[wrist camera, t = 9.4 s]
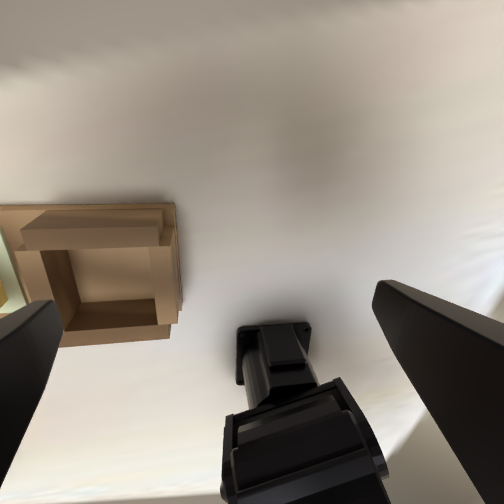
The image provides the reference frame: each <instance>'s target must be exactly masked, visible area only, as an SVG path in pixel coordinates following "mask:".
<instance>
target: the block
mask: <svg viewBox="0 0 504 504" xmlns="http://www.w3.org/2000/svg"><path fill="white" fill-rule="evenodd" d="M7 301H8V297H7V295H6V292H5V290H4V287H3V285H2V282H1V280H0V308H1V307H2V306H3V305H4V304H5V303H6V302H7Z"/></svg>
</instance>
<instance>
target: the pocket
mask: <svg viewBox="0 0 504 504" xmlns="http://www.w3.org/2000/svg"><path fill="white" fill-rule="evenodd" d="M20 232H21V235H22V238H23V241H24V244H23V245H21V246H20V247H19V248H18V249H16V250H15V251H14V253H15V256H16V259H17V262H18V265H19V267H20V270H21V273H22V276H23V279H24V282H25V284H26V287H27V290H28V293H29V296H30V299H31V302H33V301H36V300H48V299H52V300H54V301H55V302H56V304H57V306H58V309H59V313H60V316H61V319H62V322H63V335H62V338H61V341H60V344H59V348H61V347H73V346H85V345H98V344H110V343H122V342H134V341H147V340H159V339H169V338H170V330H171V324H177V323H178V312H179V301H180V292H179V280H178V268H177V256H176V244H175V233H174V227H164V217H163V209H130V210H64V211H45V212H44V213H42V214H41V215H40V216H38V217H37V218H35V219H34V220H33V221H31V222H30V223H28V224H27V225H26V226H24V227H23V228H21V229H20ZM130 247H148V251H149V259H150V266H151V274H152V282H153V289H154V297H155V298H151V299H135V300H118V301H102V302H85V303H81V300H80V296H79V292H78V288H77V284H76V281H75V277H74V273H73V269H72V265H71V261H70V258H69V254H68V250H72V249H101V248H130Z"/></svg>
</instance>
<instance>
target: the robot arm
mask: <svg viewBox="0 0 504 504" xmlns="http://www.w3.org/2000/svg"><path fill="white" fill-rule="evenodd" d="M372 309H373V312H374V314H375V316H376V318H377V320H378V322H379V324H380V326H381V329H382V331H383V333H384V335H385V337H386V339H387V341H388V343H389V345H390V347H391V349H392V351H393V353H394V355H395V356H396V358H397V360H398V362H399V363H400V365H401V367H402V368H403V370H404V371H405V373H406V375H407V376H408V378H409V380H410V381H411V383H412V385H413V386H414V388H415V389H416V391H417V393H418V394H419V396H420V398H421V399H422V401H423V403H424V404H425V406H426V407H427V409H428V411H429V412H430V414H431V416H432V417H433V419H434V421H435V422H436V424H437V425H438V427H439V429H440V430H441V432H442V433H443V435H444V437H445V438H446V440H447V442H448V443H449V445H450V447H451V448H452V450H453V452H454V453H455V455H456V456H457V458H458V460H459V461H460V463H461V465H462V466H463V468H464V470H465V471H466V473H467V474H468V476H469V478H470V479H471V481H472V482H473V484H474V486H475V487H476V489H477V491H478V492H479V494H480V496H481V497H482V499H483V501H484V502H485V504H504V323H502V322H499V321H496V320H494V319H491V318H489V317H486V316H484V315H481V314H479V313H476V312H474V311H471V310H468V309H466V308H463V307H461V306H458V305H456V304H453V303H451V302H448V301H446V300H443V299H441V298H438V297H435V296H433V295H430V294H428V293H425V292H423V291H420V290H418V289H415V288H413V287H410V286H408V285H405V284H402V283H400V282H397V281H395V280H381V281H379V282H378V283H377V286H376V289H375V293H374V297H373V301H372ZM304 328H306V329H304ZM311 330H312V329H311V326H310V324H309V323H307V322H303V323H291V324H278V325H265V326H253V327H242V328H239V329H238V330H237V332H236V384H237V385H245V388H246V394H247V400H248V406H249V410H247V411H244V412H241V413H238V414H235V415H234V414H231V415H228V416H226V422H225V427H224V438H223V457H222V482H221V486H220V493H221V497H222V499H223V500H224V501H225V502H227V503H228V504H391V502H390V500H389V498H388V495H387V493H386V490H385V488H384V485H383V483H382V480H383V479H386V478H389V472H388V468H387V465H386V461H385V459H384V456H383V453H382V451H381V448H380V446H379V443H378V441H377V439H376V437H375V435H374V433H373V430H372V428H371V426H370V425H369V423H368V421H367V419H366V417H365V416H364V414H363V412H362V411H361V409H360V408H359V406H358V405H357V403H356V401H355V400H354V398H353V397H352V395H351V394H350V392H349V390H348V389H347V387H346V386H345V384H344V383H343V381H342V379H341V378H340V377H338V378H336V379H333V381H331V382H328V383H325V384H322V385H320V384H319V382H318V379H317V377H316V375H315V372H314V370H313V368H312V366H311V363H310V361H309V359H308V356H307V355H308V349H309V342H310V336H311ZM241 333H244V334H241ZM62 335H63V322H62V319H61V316H60V313H59V309H58V306H57V304H56V302H55V301H54V300H52V299H48V300H36V301H33V302H31V303H29V304H27V305H25V306H23V307H22V308H20V309H18V310H16V311H14V312H12V313H10V314H8V315H6V316H4V317H3V318H1V319H0V488H1V485H2V483H3V481H4V479H5V477H6V474H7V472H8V470H9V468H10V466H11V463H12V461H13V459H14V457H15V454H16V452H17V450H18V448H19V446H20V443H21V441H22V439H23V437H24V435H25V432H26V430H27V428H28V426H29V423H30V421H31V419H32V417H33V415H34V412H35V410H36V408H37V406H38V404H39V401H40V399H41V397H42V394H43V392H44V390H45V387H46V384H47V382H48V379H49V376H50V372H51V369H52V366H53V363H54V360H55V357H56V354H57V351H58V348H59V344H60V341H61V338H62Z"/></svg>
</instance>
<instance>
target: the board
mask: <svg viewBox="0 0 504 504" xmlns="http://www.w3.org/2000/svg"><path fill="white" fill-rule="evenodd" d="M130 209H163V217H164V227H174V233H175V244H176V256H177V268H178V280H179V292H180V301H179V311H182V292H181V279H180V267H179V255H178V242H177V230H176V218H175V205H174V203H163V204H83V205H3V206H0V280H1V282H2V285H3V287H4V290H5V292H6V295H7V297H8V301H7V302H6V303H5V304H4V305H3V306H2V307H1V308H0V319H1V318H3V317H4V316H6V315H8V314H10V313H12V312H14V311H16V310H18V309H20V308H22V307H23V306H25V305H27V304H29V303H31V299H30V296H29V293H28V290H27V287H26V284H25V282H24V279H23V276H22V273H21V270H20V267H19V265H18V262H17V259H16V256H15V253H14V251H15V250H16V249H18V248H19V247H20V246H21V245H23V244H24V241H23V238H22V235H21V232H20V229H21V228H23V227H24V226H26V225H27V224H28V223H30V222H31V221H33V220H34V219H35V218H37V217H38V216H40V215H41V214H42V213H44V212H45V211H64V210H130ZM68 254H69V258H70V261H71V265H72V269H73V273H74V277H75V281H76V284H77V288H78V292H79V296H80V300H81V303H85V302H102V301H118V300H135V299H151V298H155V297H154V289H153V282H152V274H151V266H150V259H149V251H148V247H130V248H101V249H72V250H68Z"/></svg>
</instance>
